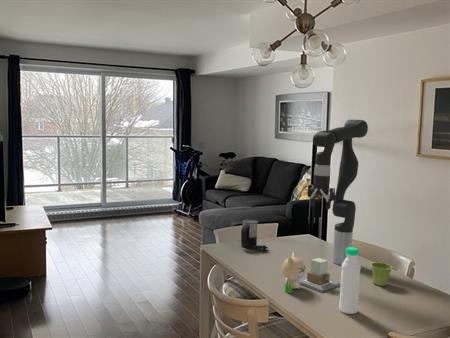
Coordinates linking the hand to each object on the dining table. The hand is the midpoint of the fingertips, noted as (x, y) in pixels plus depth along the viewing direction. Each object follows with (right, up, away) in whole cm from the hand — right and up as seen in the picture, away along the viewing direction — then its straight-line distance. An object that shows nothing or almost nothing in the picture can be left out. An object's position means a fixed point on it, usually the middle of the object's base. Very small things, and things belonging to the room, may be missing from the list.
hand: (320, 207), depth 214 cm
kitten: (-16, -34, -18) cm, 41 cm away
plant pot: (+26, -34, -9) cm, 44 cm away
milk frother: (-29, -27, +43) cm, 58 cm away
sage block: (-3, -28, -13) cm, 31 cm away
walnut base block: (-4, -32, -12) cm, 35 cm away
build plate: (-4, -33, -12) cm, 36 cm away
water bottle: (+2, -37, -40) cm, 54 cm away
